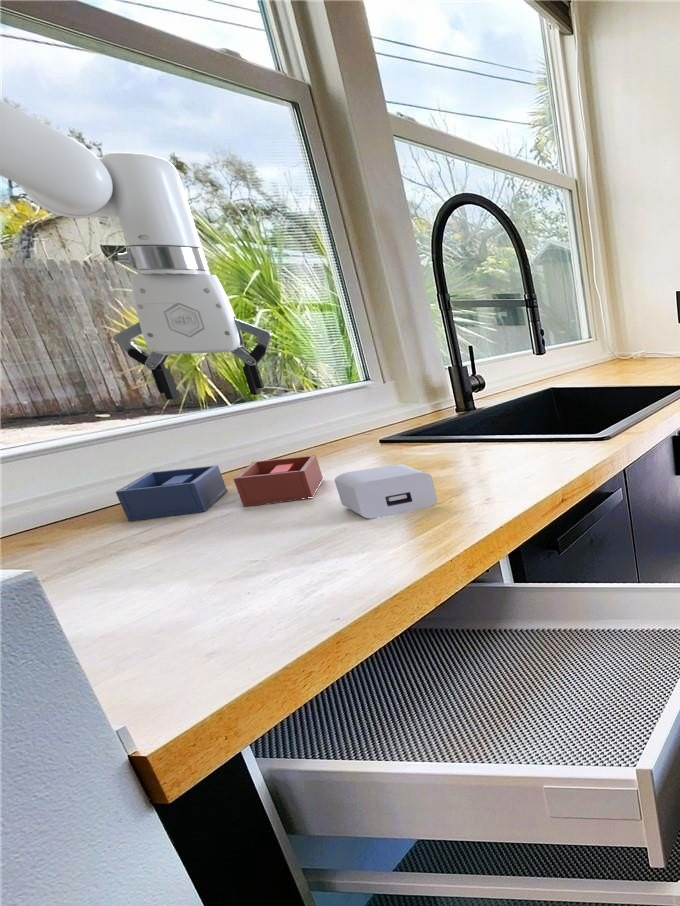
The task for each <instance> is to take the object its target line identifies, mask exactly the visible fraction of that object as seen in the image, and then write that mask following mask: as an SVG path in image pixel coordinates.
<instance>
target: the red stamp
mask: <svg viewBox="0 0 680 906" xmlns="http://www.w3.org/2000/svg"><path fill="white" fill-rule="evenodd" d="M292 471H296V469H295V466H294V464H285V465H277V466H276V467H275V468H274V469H273V470H272V471H271V472H270V473H269V474H274V473H283V472H292Z"/></svg>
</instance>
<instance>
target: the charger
mask: <svg viewBox="0 0 680 906" xmlns="http://www.w3.org/2000/svg"><path fill="white" fill-rule="evenodd" d="M334 483H335V487H336V491H337V493H338V496H339V499H340V500H339V501H340V503H341V505H342V506H343V507H345V508H347V509H349V510H351V511H353V512H354V513H356V514H358V515H360V516H361V517H364V518H365V519H371V520H373V518H375V519H379V518H378V517H380V518H384V517H383V516H385V517H388V516H393V515H399V514H404V513H407V512H412V511H417V510H421V509H426V508H430V507H432V506H435V504H437V502H438V496H437V492H436V489H435V488H436V487H435V484H434V481H433V476H432V475H431V474H430V473H427V472H425V471H422V470H419V469H416V468H414V467H411V466H408V465H405V464H399V463H397V464H389V465H384V466H383V465H382V466H377V467H372V468H364V469H360V470H353V471H348V472H343V473H341V474H339V475H337V476H336V477H335V479H334Z"/></svg>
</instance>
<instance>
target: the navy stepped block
mask: <svg viewBox="0 0 680 906" xmlns="http://www.w3.org/2000/svg"><path fill="white" fill-rule="evenodd" d="M193 480H195V478H194V475H193V474H191V475H182V476H174V477H173V478H171V479H170V480H168V481H167V482H165V483H164V484H162V485H161V486H165V485H174V484H183V483H190V482H192V481H193Z"/></svg>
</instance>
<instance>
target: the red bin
mask: <svg viewBox="0 0 680 906" xmlns="http://www.w3.org/2000/svg"><path fill="white" fill-rule="evenodd" d="M285 464H294V466H295V469H296V471H292V472H283V473H274V474H269V473H270V472H271V471H272V470H273V469H274V468H275V467H276V466H277V465H285ZM322 479H323V480H324V477H323V474H322V471H321V468H320V465H319V461H318V458H317V455H315V454H314V455H305V456H295V457H285V458H276V459H267V460H256V461H252V462H251V463H249V464H248V465H247V466H246V467H245V468H244V469H242V470H241V472H239V473H238V474H237V475H236V476H234V477H233V482H234V485H235V487H236V490H237V493H238V495H239V498H240V501H241V504H242V507H243V508H245V507H244V506H247V507H253V506H252V505H255V506H261V505H260V504H263V505H268V504H267V503H271V504H275V503H274V502H279V503H281V502H280V501H287V502H290V501H289V500H295V499H302V498H308V497H313V495H314V493H315V491H316V489H317V488H318V486H319V484H320V482H321V481H322ZM318 489H319V488H318ZM314 496H315V495H314ZM313 498H314V497H313ZM295 501H296V500H295Z"/></svg>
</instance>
